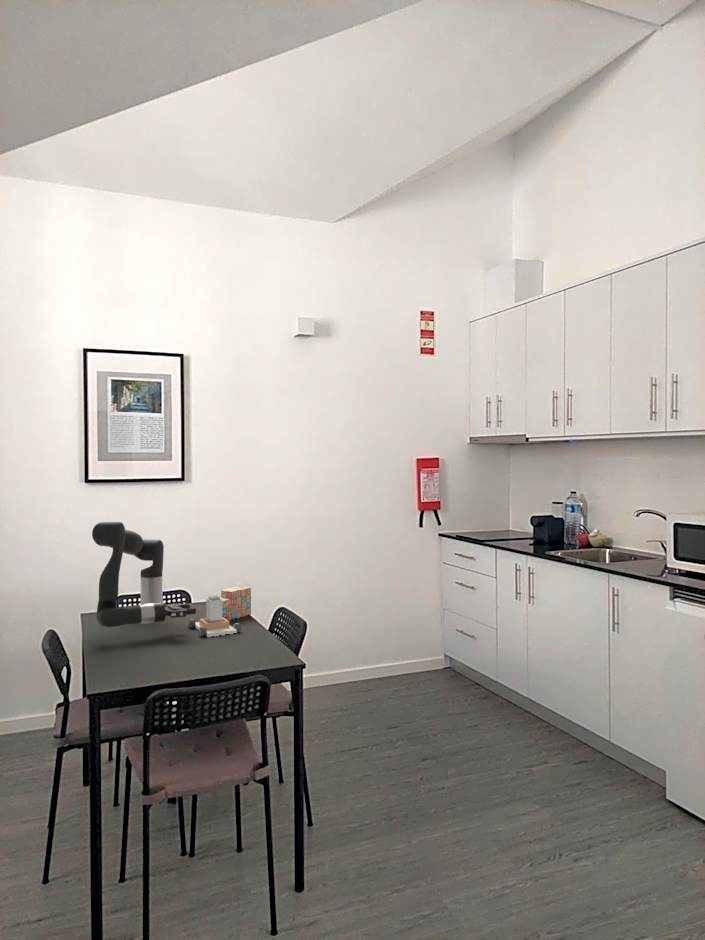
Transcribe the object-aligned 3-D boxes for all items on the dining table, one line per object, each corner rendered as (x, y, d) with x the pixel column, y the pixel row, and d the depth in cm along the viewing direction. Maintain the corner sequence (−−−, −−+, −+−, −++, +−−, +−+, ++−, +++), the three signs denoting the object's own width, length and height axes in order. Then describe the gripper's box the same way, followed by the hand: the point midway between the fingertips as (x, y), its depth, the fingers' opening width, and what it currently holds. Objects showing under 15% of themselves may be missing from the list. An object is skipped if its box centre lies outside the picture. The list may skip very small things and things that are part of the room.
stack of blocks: (216, 624, 310) (216, 595, 310) (205, 622, 314) (205, 593, 313) (251, 614, 328) (251, 587, 327) (240, 613, 331) (240, 585, 331)
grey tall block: (206, 625, 301) (206, 596, 301) (218, 624, 304) (218, 595, 304) (210, 628, 297) (210, 598, 297) (222, 626, 299) (222, 597, 299)
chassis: (187, 626, 305) (187, 617, 305) (225, 622, 313) (225, 613, 313) (202, 637, 288) (202, 627, 288) (241, 633, 296) (241, 623, 295)
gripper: (156, 606, 282) (197, 602, 290) (147, 599, 294) (187, 596, 302) (156, 626, 282) (197, 621, 290) (147, 618, 294) (187, 614, 302)
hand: (192, 608), depth 296 cm, fingers open, 8 cm apart
